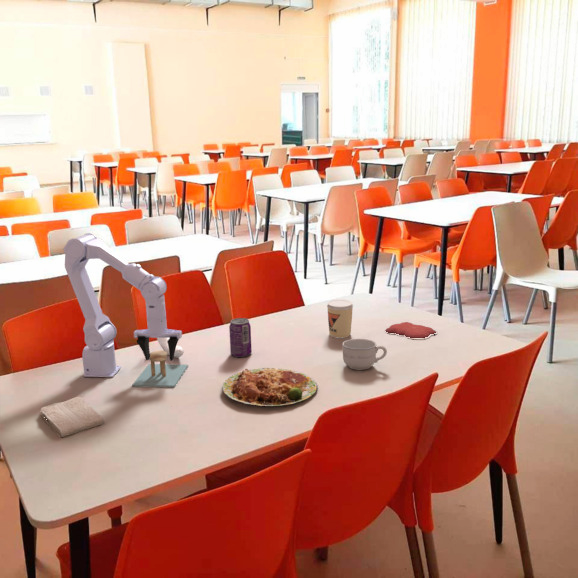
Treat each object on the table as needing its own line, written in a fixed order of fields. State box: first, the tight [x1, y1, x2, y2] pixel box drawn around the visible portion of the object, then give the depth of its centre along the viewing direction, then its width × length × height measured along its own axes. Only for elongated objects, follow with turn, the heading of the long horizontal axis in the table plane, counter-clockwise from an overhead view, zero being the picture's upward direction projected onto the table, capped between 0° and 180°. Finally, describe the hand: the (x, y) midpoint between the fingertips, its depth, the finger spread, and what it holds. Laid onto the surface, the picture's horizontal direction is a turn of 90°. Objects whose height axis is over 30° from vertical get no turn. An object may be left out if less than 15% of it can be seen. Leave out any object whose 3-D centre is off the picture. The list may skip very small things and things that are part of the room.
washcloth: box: [40, 396, 105, 438], centre depth 166 cm, size 12×18×3 cm, turn 40°
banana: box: [156, 337, 185, 358], centre depth 207 cm, size 5×19×15 cm, turn 38°
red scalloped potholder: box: [384, 321, 437, 338], centre depth 227 cm, size 18×14×2 cm
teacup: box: [341, 338, 388, 371], centre depth 195 cm, size 14×11×8 cm
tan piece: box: [149, 350, 168, 377], centre depth 191 cm, size 5×5×7 cm
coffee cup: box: [326, 299, 354, 339], centre depth 224 cm, size 9×9×12 cm
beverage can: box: [228, 317, 252, 358], centre depth 207 cm, size 7×7×12 cm
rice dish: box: [221, 367, 318, 407], centre depth 181 cm, size 28×28×5 cm
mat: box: [132, 363, 189, 388], centre depth 193 cm, size 13×16×1 cm
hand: (159, 359), depth 191 cm, fingers open, 7 cm apart
